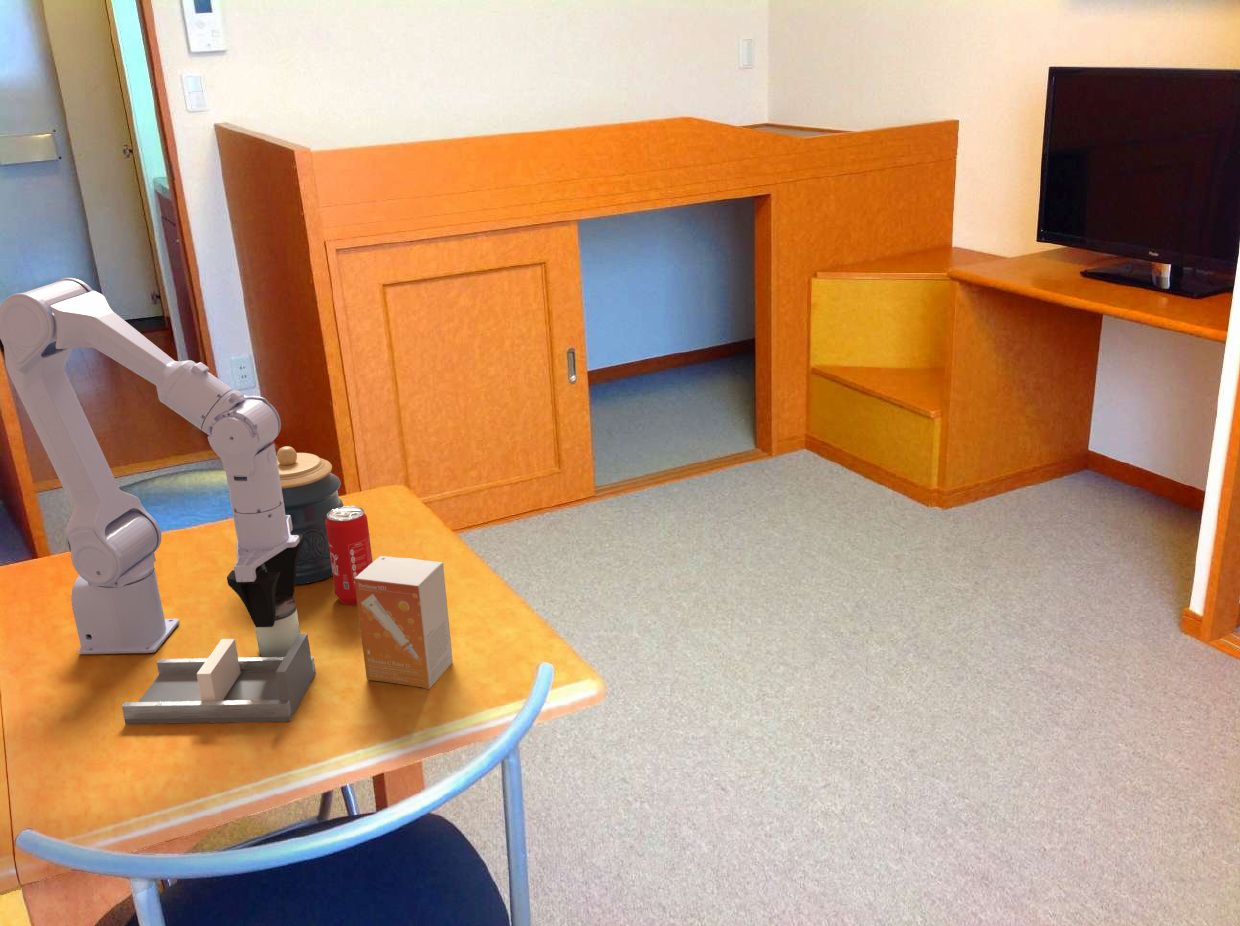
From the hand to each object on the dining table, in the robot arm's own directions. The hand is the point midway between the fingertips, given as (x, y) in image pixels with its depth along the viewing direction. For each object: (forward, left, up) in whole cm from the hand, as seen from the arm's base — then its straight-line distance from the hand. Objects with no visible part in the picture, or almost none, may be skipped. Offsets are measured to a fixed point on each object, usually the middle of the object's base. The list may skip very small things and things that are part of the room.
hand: (275, 610), depth 138 cm
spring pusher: (-3, -11, -5) cm, 13 cm away
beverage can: (+6, +13, -5) cm, 15 cm away
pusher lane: (-3, -11, -5) cm, 13 cm away
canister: (-4, +23, -5) cm, 24 cm away
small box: (+17, -6, -5) cm, 19 cm away
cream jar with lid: (0, 0, -5) cm, 5 cm away
